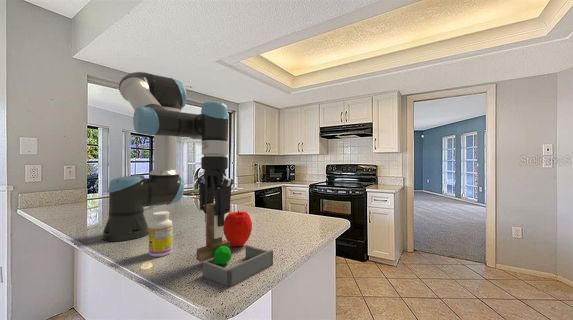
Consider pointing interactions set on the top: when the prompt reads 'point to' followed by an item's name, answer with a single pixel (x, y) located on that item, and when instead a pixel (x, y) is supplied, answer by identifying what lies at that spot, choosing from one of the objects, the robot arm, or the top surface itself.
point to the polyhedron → (222, 255)
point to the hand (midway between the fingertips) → (214, 236)
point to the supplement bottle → (160, 235)
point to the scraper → (210, 236)
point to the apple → (237, 228)
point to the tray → (239, 267)
